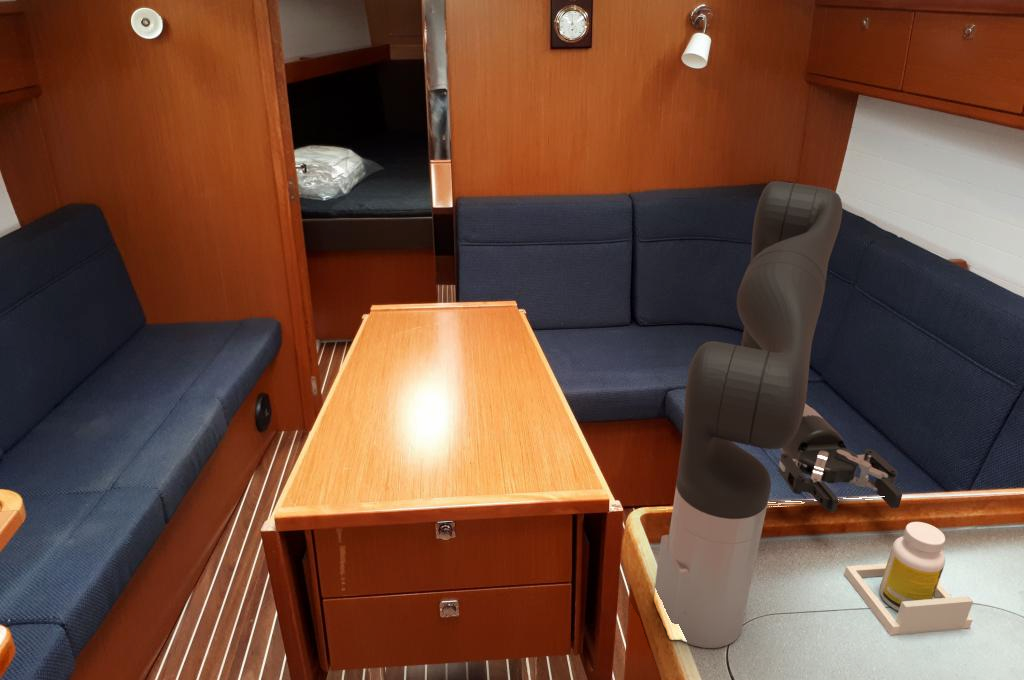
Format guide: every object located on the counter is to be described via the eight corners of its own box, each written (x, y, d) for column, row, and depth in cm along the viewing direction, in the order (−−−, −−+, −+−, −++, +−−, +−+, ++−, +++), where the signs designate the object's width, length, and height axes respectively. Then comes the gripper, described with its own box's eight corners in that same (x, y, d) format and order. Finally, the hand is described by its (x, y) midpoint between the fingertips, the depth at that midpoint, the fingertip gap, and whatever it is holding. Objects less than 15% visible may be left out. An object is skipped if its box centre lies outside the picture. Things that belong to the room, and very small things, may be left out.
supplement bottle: (935, 620, 84) (959, 552, 80) (884, 612, 85) (905, 544, 81) (921, 586, 89) (943, 521, 85) (873, 579, 90) (892, 514, 85)
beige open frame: (890, 635, 82) (899, 607, 80) (844, 574, 90) (851, 548, 89) (969, 627, 83) (979, 600, 81) (916, 568, 92) (924, 542, 90)
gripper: (762, 416, 105) (819, 483, 91) (855, 411, 107) (926, 476, 93) (753, 460, 108) (808, 532, 94) (844, 455, 110) (911, 525, 96)
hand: (866, 504), depth 93 cm, fingers open, 8 cm apart
